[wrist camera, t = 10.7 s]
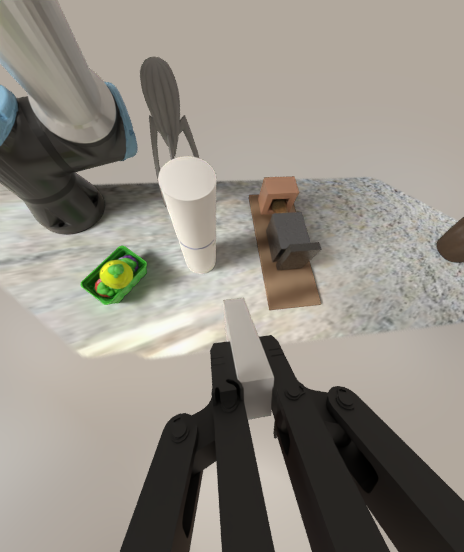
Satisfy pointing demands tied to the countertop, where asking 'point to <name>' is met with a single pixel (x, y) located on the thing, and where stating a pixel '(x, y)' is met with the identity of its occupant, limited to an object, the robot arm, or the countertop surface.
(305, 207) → the countertop surface
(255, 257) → the countertop surface
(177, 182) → the cylindrical container
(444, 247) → the plant pot
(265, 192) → the terracotta socket
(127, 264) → the fruit basket
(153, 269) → the countertop surface
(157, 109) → the citrus juicer
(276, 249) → the metal sleeve
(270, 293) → the walnut board
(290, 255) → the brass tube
